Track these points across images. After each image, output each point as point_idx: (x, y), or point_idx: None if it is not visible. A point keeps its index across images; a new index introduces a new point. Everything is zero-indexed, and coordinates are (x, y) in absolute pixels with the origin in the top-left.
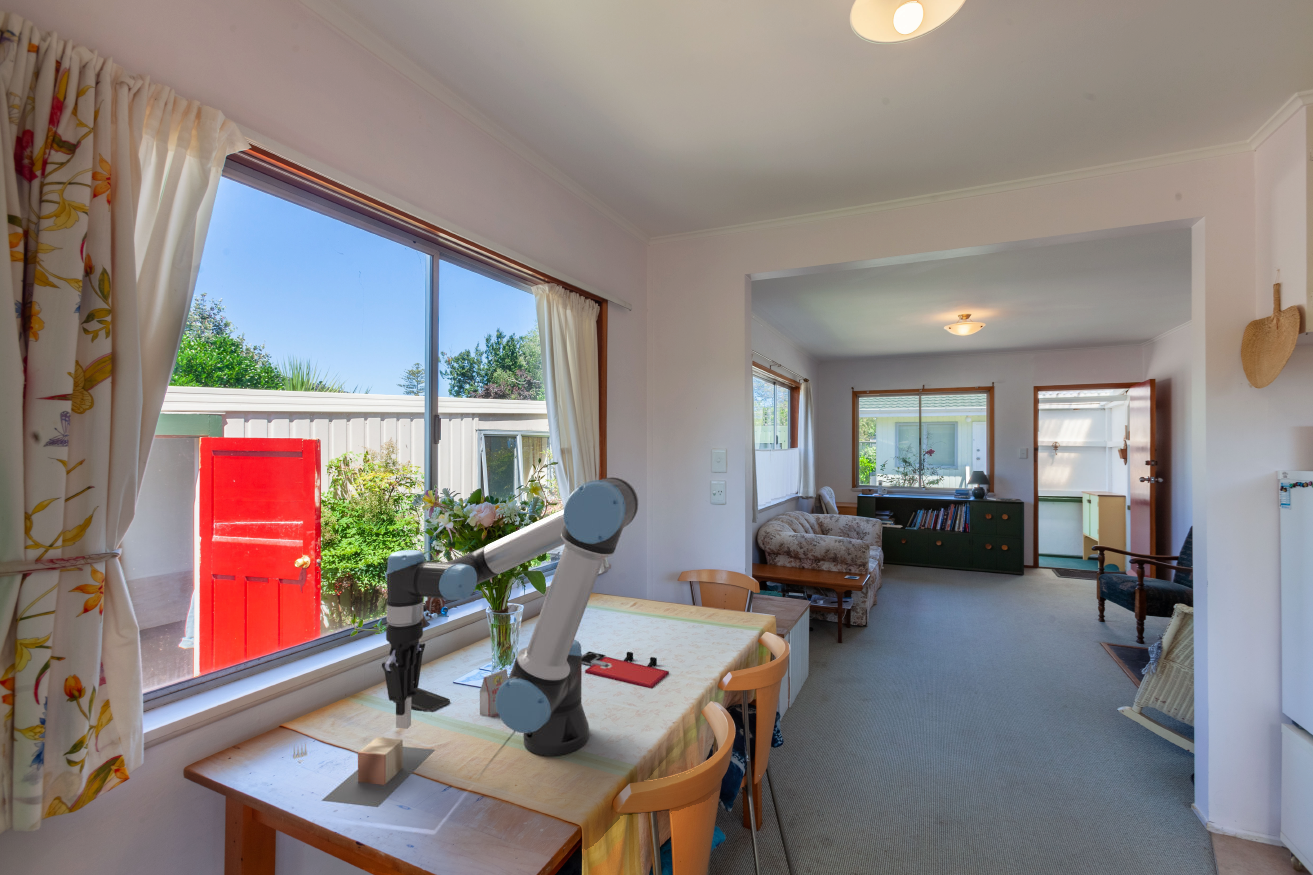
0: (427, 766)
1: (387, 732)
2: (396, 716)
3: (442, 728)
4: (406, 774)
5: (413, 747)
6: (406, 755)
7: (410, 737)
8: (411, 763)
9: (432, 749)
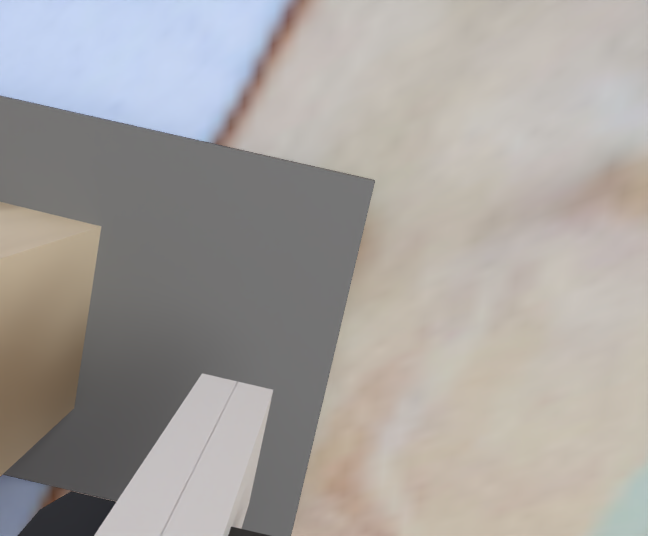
0: None
1: (617, 88)
2: (162, 438)
3: (614, 495)
4: None
5: (322, 395)
6: None
7: (507, 307)
8: (124, 445)
9: (291, 524)
